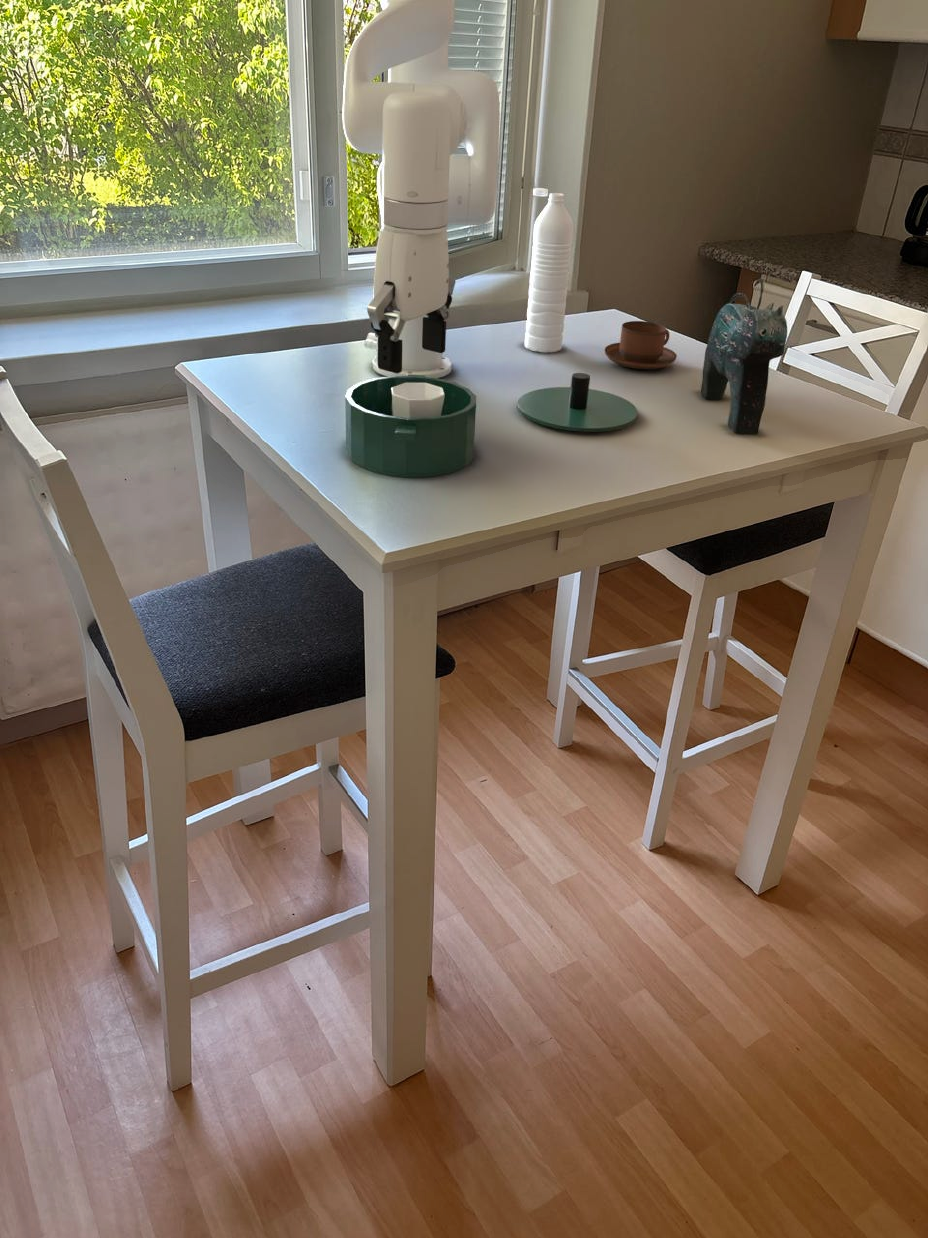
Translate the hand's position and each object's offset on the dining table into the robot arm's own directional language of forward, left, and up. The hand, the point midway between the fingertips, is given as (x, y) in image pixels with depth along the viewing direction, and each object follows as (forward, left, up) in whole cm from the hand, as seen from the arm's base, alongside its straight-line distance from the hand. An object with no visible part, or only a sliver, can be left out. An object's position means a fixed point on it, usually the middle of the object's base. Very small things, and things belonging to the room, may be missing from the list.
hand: (412, 360), depth 122 cm
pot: (0, 0, -12) cm, 12 cm away
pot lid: (+11, +27, -11) cm, 31 cm away
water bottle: (-9, +54, -12) cm, 56 cm away
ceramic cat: (+29, +41, -12) cm, 51 cm away
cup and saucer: (+9, +56, -12) cm, 58 cm away
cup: (0, 0, -12) cm, 12 cm away
